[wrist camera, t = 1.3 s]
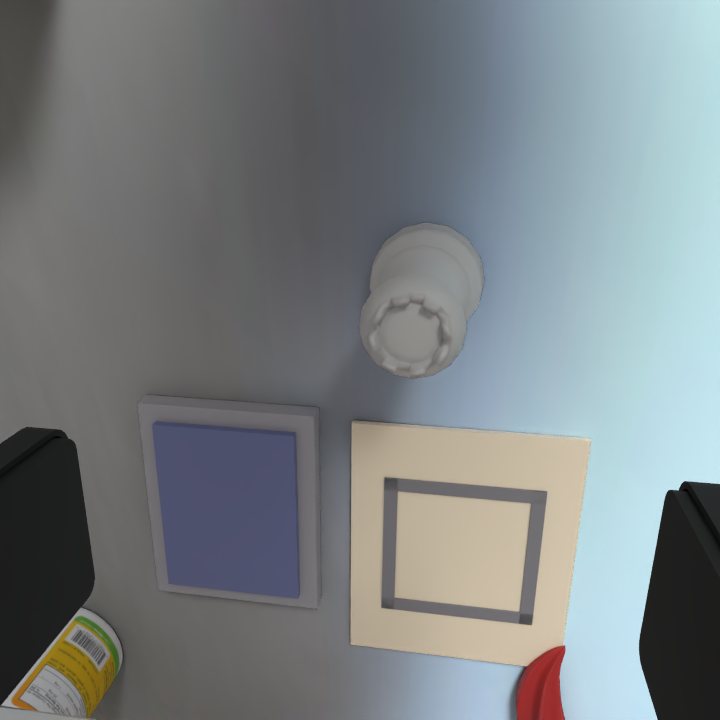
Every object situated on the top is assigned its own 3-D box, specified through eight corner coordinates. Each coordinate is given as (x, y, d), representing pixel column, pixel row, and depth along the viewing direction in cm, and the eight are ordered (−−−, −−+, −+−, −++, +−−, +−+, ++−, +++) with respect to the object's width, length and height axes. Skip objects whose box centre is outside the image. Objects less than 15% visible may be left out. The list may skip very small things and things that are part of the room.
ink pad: (147, 394, 31) (132, 406, 30) (319, 407, 30) (312, 420, 28) (166, 577, 34) (154, 595, 33) (321, 595, 33) (315, 615, 32)
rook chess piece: (428, 352, 28) (411, 436, 21) (349, 277, 28) (303, 336, 20) (508, 276, 27) (521, 338, 19) (426, 196, 26) (407, 227, 19)
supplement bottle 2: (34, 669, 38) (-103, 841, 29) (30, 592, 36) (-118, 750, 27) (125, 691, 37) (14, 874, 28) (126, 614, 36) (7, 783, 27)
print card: (352, 420, 30) (351, 424, 29) (589, 438, 28) (591, 442, 28) (351, 640, 34) (350, 645, 33) (558, 665, 32) (559, 671, 32)
